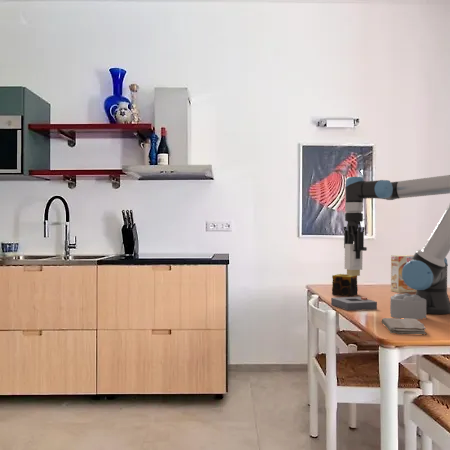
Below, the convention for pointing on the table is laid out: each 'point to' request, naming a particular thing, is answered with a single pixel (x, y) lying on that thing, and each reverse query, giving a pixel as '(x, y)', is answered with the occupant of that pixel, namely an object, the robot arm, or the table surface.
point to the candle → (344, 285)
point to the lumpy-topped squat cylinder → (407, 306)
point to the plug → (349, 260)
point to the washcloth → (404, 326)
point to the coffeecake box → (399, 273)
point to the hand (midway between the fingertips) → (353, 265)
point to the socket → (354, 303)
